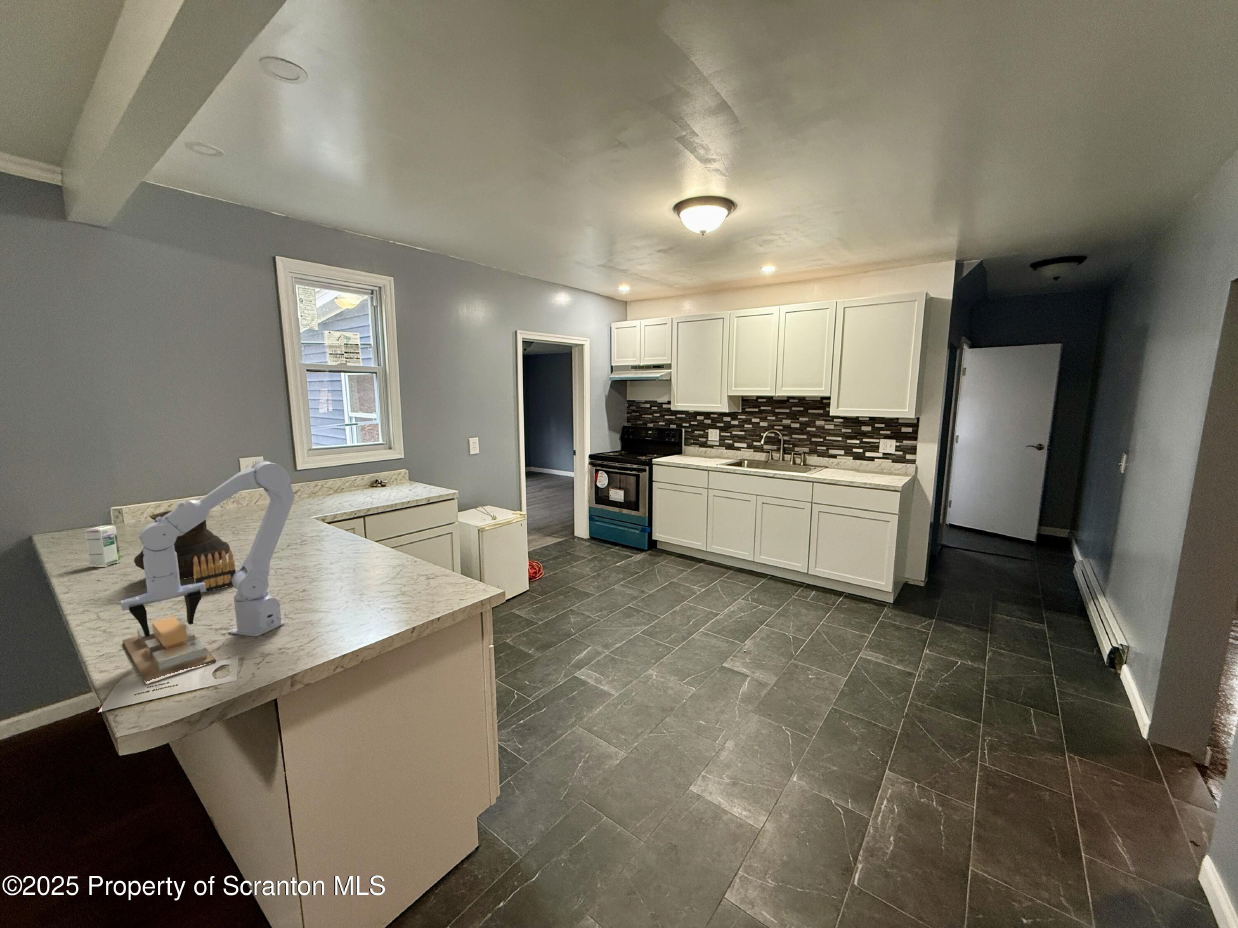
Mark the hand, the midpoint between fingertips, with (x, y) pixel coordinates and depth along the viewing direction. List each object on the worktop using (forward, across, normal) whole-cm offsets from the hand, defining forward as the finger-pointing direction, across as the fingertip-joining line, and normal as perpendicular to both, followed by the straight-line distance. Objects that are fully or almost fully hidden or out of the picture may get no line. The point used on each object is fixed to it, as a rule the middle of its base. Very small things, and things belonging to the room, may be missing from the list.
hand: (169, 629), depth 115 cm
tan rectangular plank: (+5, 0, 0) cm, 5 cm away
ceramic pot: (+6, -15, -67) cm, 69 cm away
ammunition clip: (+6, -18, -43) cm, 47 cm away
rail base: (+6, 0, 0) cm, 6 cm away
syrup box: (+6, +1, -107) cm, 107 cm away
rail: (+6, 0, 0) cm, 6 cm away
